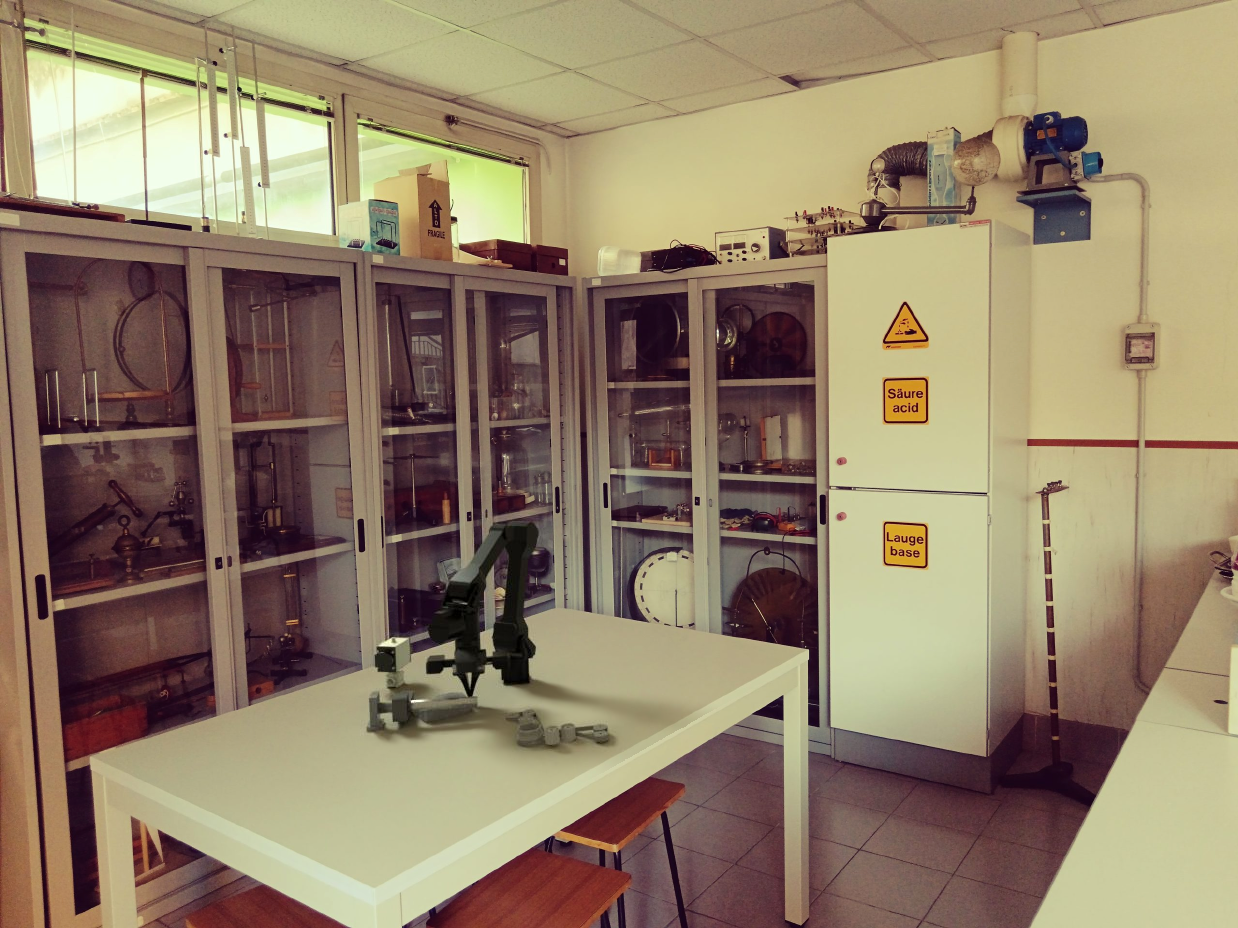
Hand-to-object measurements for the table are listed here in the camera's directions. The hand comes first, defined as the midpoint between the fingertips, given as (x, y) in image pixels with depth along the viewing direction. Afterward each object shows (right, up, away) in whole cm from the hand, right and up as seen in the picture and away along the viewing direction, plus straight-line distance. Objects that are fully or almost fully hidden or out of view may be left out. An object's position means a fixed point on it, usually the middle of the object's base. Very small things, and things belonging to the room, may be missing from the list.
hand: (470, 698), depth 206 cm
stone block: (-6, -2, -3) cm, 7 cm away
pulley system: (+19, -3, -19) cm, 27 cm away
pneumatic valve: (-21, -1, +15) cm, 26 cm away
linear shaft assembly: (-8, -2, -11) cm, 14 cm away
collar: (-14, -1, -7) cm, 15 cm away
